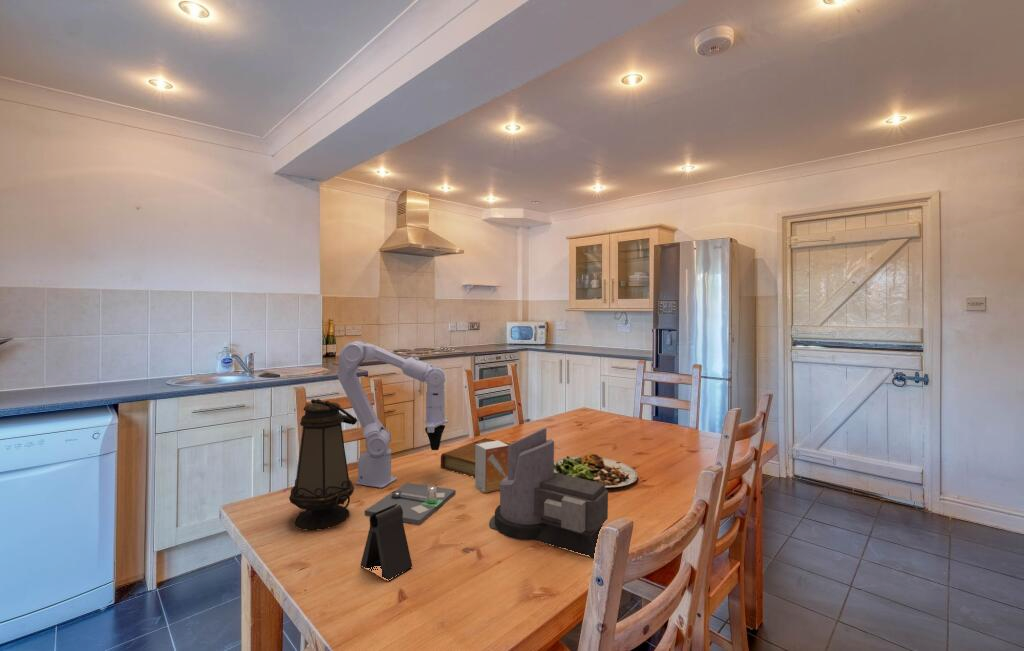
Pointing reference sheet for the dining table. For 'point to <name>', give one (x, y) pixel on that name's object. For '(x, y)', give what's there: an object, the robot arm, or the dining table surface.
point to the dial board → (413, 503)
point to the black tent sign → (387, 543)
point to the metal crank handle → (430, 495)
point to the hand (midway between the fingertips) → (435, 449)
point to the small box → (490, 465)
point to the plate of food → (596, 470)
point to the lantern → (322, 468)
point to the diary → (462, 458)
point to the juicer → (548, 500)
